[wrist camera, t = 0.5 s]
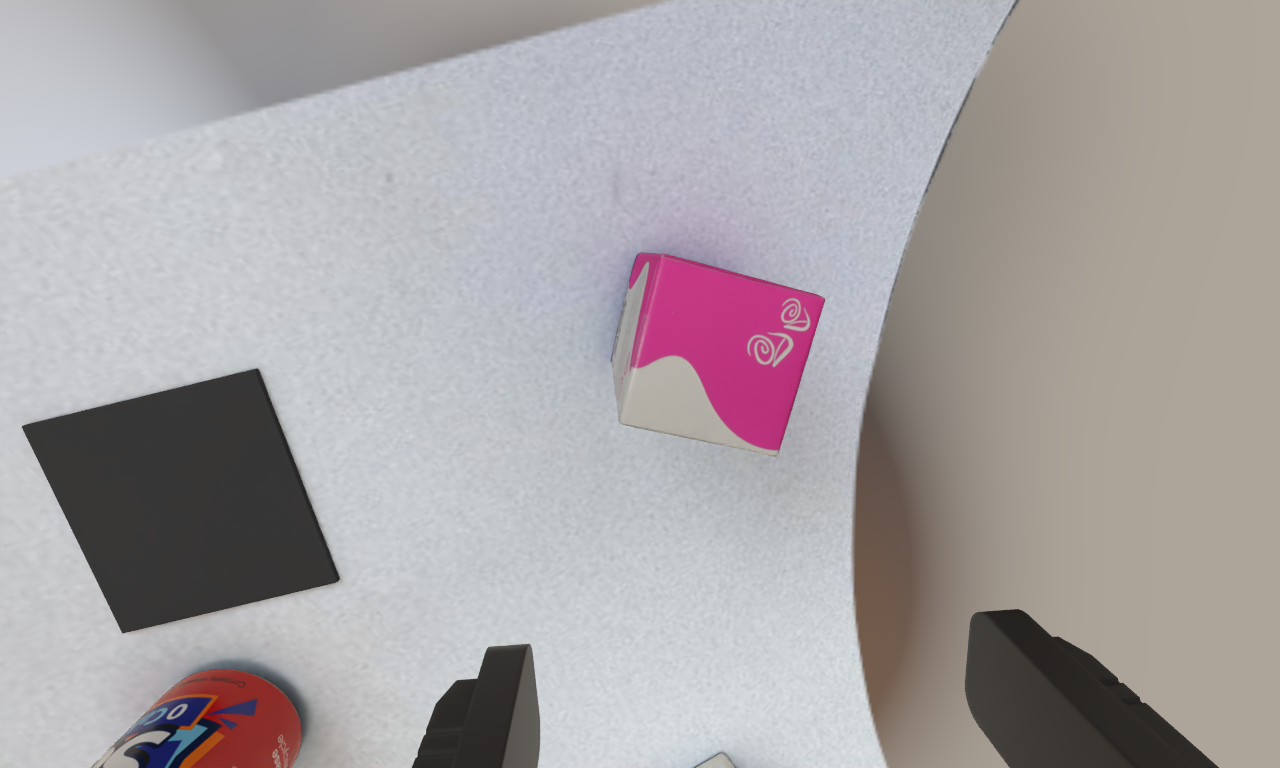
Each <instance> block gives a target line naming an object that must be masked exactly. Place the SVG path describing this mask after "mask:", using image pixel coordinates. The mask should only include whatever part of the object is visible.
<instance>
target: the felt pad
mask: <svg viewBox="0 0 1280 768" xmlns="http://www.w3.org/2000/svg"><path fill="white" fill-rule="evenodd" d="M22 428H23V431H24V433H25V435H26V437H27V439H28V441H29V443H30V445H31V447H32V449H33V451H34V453H35V455H36V457H37V459H38V461H39V463H40V465H41V467H42V469H43V471H44V474H45V476H46V478H47V480H48V482H49V484H50V486H51V488H52V490H53V492H54V494H55V496H56V498H57V500H58V502H59V504H60V506H61V508H62V510H63V512H64V514H65V517H66V519H67V521H68V523H69V525H70V527H71V529H72V531H73V533H74V535H75V537H76V539H77V541H78V543H79V545H80V547H81V549H82V551H83V553H84V555H85V558H86V560H87V562H88V564H89V566H90V568H91V570H92V572H93V574H94V576H95V578H96V580H97V582H98V584H99V586H100V588H101V590H102V592H103V594H104V596H105V598H106V601H107V603H108V605H109V607H110V609H111V611H112V613H113V615H114V617H115V619H116V621H117V623H118V625H119V627H120V629H121V631H122V633H126V632H131V631H135V630H139V629H143V628H147V627H152V626H156V625H160V624H164V623H168V622H173V621H177V620H181V619H185V618H189V617H194V616H198V615H202V614H206V613H210V612H215V611H219V610H223V609H227V608H231V607H236V606H240V605H244V604H248V603H252V602H257V601H261V600H265V599H269V598H273V597H278V596H282V595H286V594H290V593H294V592H299V591H303V590H307V589H311V588H315V587H320V586H324V585H328V584H332V583H336V582H338V581H339V577H338V574H337V572H336V569H335V567H334V564H333V561H332V559H331V556H330V554H329V551H328V549H327V546H326V543H325V541H324V538H323V536H322V533H321V531H320V528H319V525H318V523H317V520H316V518H315V515H314V512H313V510H312V507H311V505H310V502H309V500H308V497H307V494H306V492H305V489H304V487H303V484H302V481H301V479H300V476H299V474H298V471H297V469H296V466H295V463H294V461H293V458H292V456H291V453H290V451H289V448H288V445H287V443H286V440H285V438H284V435H283V432H282V430H281V427H280V425H279V422H278V420H277V417H276V414H275V412H274V409H273V407H272V404H271V402H270V399H269V396H268V394H267V391H266V389H265V386H264V383H263V381H262V378H261V376H260V373H259V371H258V369H254V370H250V371H246V372H241V373H237V374H233V375H229V376H225V377H221V378H217V379H213V380H209V381H204V382H200V383H196V384H192V385H188V386H184V387H180V388H176V389H171V390H167V391H163V392H159V393H155V394H151V395H147V396H143V397H139V398H134V399H130V400H126V401H122V402H118V403H114V404H110V405H106V406H101V407H97V408H93V409H89V410H85V411H81V412H77V413H73V414H69V415H64V416H60V417H56V418H52V419H48V420H44V421H40V422H36V423H32V424H27V425H24V426H22Z"/></svg>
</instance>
